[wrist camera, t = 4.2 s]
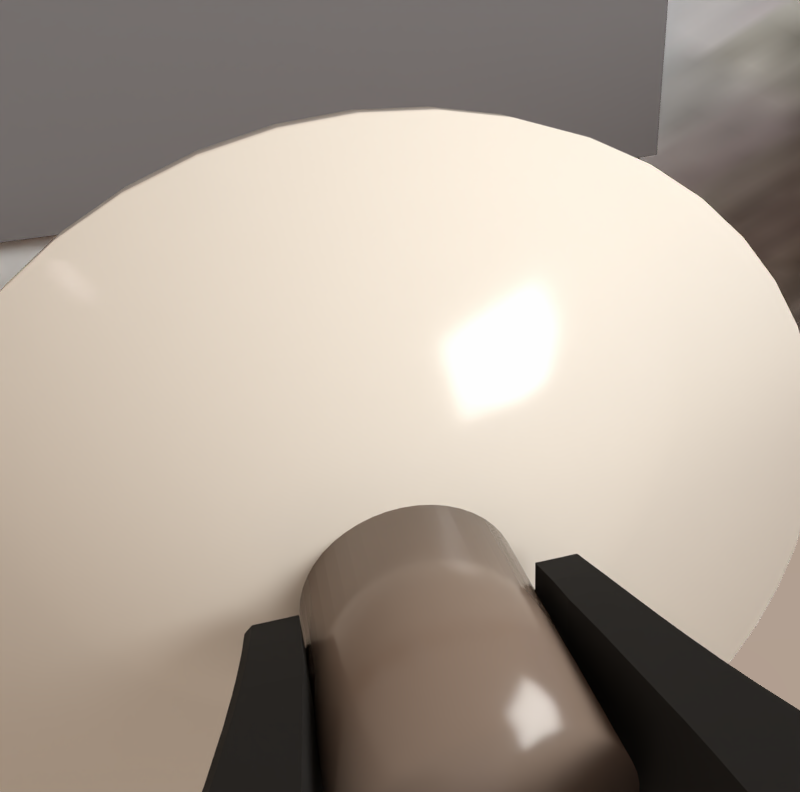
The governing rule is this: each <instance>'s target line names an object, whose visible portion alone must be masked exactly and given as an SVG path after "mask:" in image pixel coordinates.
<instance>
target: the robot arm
mask: <svg viewBox="0 0 800 792" xmlns="http://www.w3.org/2000/svg"><path fill="white" fill-rule="evenodd" d="M535 591H536V593H537V594H538V596H539V598H540V600H541V601H542V603H543V605H544V607H545V608H546V610H547V612H548V614H549V616H550V617H551V619H552V621H553V623H554V624H555V626H556V628H557V630H558V631H559V633H560V635H561V637H562V638H563V640H564V642H565V644H566V645H567V647H568V649H569V651H570V652H571V654H572V656H573V658H574V660H575V661H576V663H577V665H578V667H579V668H580V670H581V672H582V674H583V675H584V677H585V679H586V681H587V682H588V684H589V686H590V688H591V689H592V691H593V693H594V695H595V696H596V698H597V700H598V702H599V703H600V705H601V707H602V709H603V711H604V712H605V714H606V716H607V718H608V719H609V721H610V723H611V725H612V726H613V728H614V730H615V732H616V733H617V735H618V737H619V739H620V740H621V742H622V744H623V746H624V747H625V749H626V751H627V753H628V754H629V756H630V758H631V760H632V762H633V764H634V766H635V768H636V771H637V773H638V779H639V784H640V785H639V792H800V710H798V709H797V708H795V707H794V706H792V705H790V704H789V703H787V702H786V701H784V700H783V699H781V698H779V697H778V696H776V695H774V694H773V693H771V692H770V691H768V690H767V689H765V688H764V687H762V686H761V685H759V684H757V683H756V682H754V681H753V680H751V679H750V678H748V677H747V676H745V675H744V674H742V673H741V672H739V671H738V670H736V669H735V668H733V667H732V666H730V665H729V664H728V663H726V662H725V661H723V660H722V659H720V658H719V657H718V656H716V655H715V654H713V653H712V652H710V651H709V650H708V649H706V648H705V647H703V646H702V645H700V644H699V643H698V642H696V641H695V640H693V639H692V638H690V637H689V636H688V635H686V634H685V633H683V632H682V631H681V630H679V629H678V628H676V627H675V626H674V625H672V624H671V623H670V622H668V621H667V620H665V619H664V618H663V617H661V616H660V615H659V614H657V613H656V612H655V611H653V610H652V609H651V608H649V607H648V606H646V605H645V604H644V603H642V602H641V601H640V600H638V599H637V598H636V597H634V596H633V595H632V594H630V593H629V592H628V591H626V590H625V589H624V588H622V587H621V586H620V585H618V584H617V583H616V582H615V581H613V580H612V579H611V578H609V577H608V576H607V575H605V574H604V573H603V572H601V571H600V570H599V569H597V568H596V567H594V566H593V565H592V564H590V563H589V562H588V561H586V560H585V559H584V558H582V557H581V556H580V555H578V554H573V555H568V556H564V557H559V558H555V559H550V560H546V561H541V562H536V563H535ZM202 792H323V785H322V777H321V770H320V762H319V755H318V747H317V739H316V729H315V716H314V707H313V700H312V693H311V685H310V678H309V671H308V663H307V656H306V648H305V643H304V638H303V633H302V628H301V623H300V617H299V615H296V616H292V617H287V618H283V619H278V620H274V621H269V622H265V623H260V624H256V625H252V626H251V627H250V628H249V629H248V630H247V631H246V633H245V634H244V640H243V647H242V653H241V658H240V663H239V668H238V672H237V677H236V681H235V685H234V689H233V693H232V697H231V700H230V704H229V707H228V711H227V715H226V718H225V722H224V725H223V729H222V732H221V735H220V738H219V741H218V744H217V747H216V750H215V753H214V757H213V760H212V763H211V766H210V769H209V772H208V775H207V778H206V781H205V785H204V787H203V790H202Z"/></svg>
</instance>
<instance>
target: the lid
mask: <svg viewBox="0 0 800 792" xmlns="http://www.w3.org/2000/svg"><path fill="white" fill-rule="evenodd" d="M799 534H800V333H799V330H798V326H797V324H796V322H795V320H794V318H793V316H792V314H791V312H790V310H789V308H788V306H787V304H786V302H785V299H784V297H783V295H782V293H781V291H780V289H779V287H778V285H777V283H776V281H775V280H774V278H773V277H772V276H771V274H770V273H769V271H768V270H767V269H766V267H765V266H764V265H763V263H762V262H761V261H760V259H759V258H758V257H757V255H756V254H755V252H754V251H753V250H752V248H751V247H750V246H749V244H748V243H747V242H746V240H745V239H744V238H743V237H742V236H741V235H740V234H739V233H738V232H737V231H736V230H735V229H734V228H733V227H732V226H731V225H730V224H729V223H728V222H727V221H725V220H724V219H723V218H722V217H721V216H720V215H719V214H718V213H717V212H716V211H715V210H714V209H713V208H712V207H711V206H710V205H709V204H708V203H706V202H705V201H704V200H703V199H702V198H701V197H699V196H698V195H696V194H695V193H693V192H692V191H690V190H689V189H687V188H686V187H684V186H683V185H681V184H680V183H678V182H677V181H675V180H674V179H672V178H671V177H669V176H667V175H666V174H664V173H663V172H661V171H660V170H658V169H657V168H655V167H654V166H652V165H651V164H649V163H646V162H644V161H642V160H640V159H637V158H635V157H633V156H630V155H628V154H626V153H624V152H621V151H619V150H617V149H615V148H612V147H610V146H608V145H606V144H603V143H601V142H599V141H597V140H594V139H592V138H590V137H586V136H582V135H578V134H574V133H571V132H567V131H563V130H559V129H555V128H552V127H548V126H544V125H540V124H536V123H533V122H529V121H525V120H521V119H517V118H514V117H510V116H506V115H502V114H495V113H485V112H476V111H466V110H457V109H447V108H438V107H406V108H382V109H358V110H348V111H343V112H337V113H332V114H327V115H321V116H316V117H311V118H305V119H300V120H294V121H289V122H284V123H278V124H274V125H271V126H268V127H265V128H262V129H259V130H256V131H253V132H250V133H247V134H244V135H241V136H238V137H235V138H232V139H229V140H226V141H223V142H220V143H217V144H214V145H211V146H208V147H205V148H202V149H200V150H197V151H195V152H193V153H191V154H189V155H187V156H185V157H183V158H181V159H179V160H177V161H175V162H173V163H171V164H169V165H167V166H165V167H163V168H161V169H159V170H157V171H155V172H153V173H151V174H149V175H147V176H145V177H143V178H141V179H139V180H138V181H136V182H134V183H132V184H130V185H128V186H126V187H124V188H123V189H121V190H120V191H119V192H117V193H116V194H114V195H113V196H111V197H110V198H109V199H107V200H106V201H104V202H103V203H101V204H100V205H99V206H97V207H96V208H94V209H93V210H91V211H90V212H89V213H87V214H86V215H84V216H83V217H81V218H80V219H79V220H77V221H76V222H74V223H73V224H72V225H70V226H69V227H67V228H66V229H64V230H63V231H62V232H60V233H59V234H58V235H57V236H56V237H55V238H54V239H53V240H52V241H51V242H50V243H49V244H48V245H47V246H46V247H45V248H44V249H43V250H42V251H40V252H39V253H38V254H37V255H36V256H35V257H34V258H33V259H32V260H31V261H30V262H29V263H28V264H27V265H26V266H25V267H24V268H23V269H22V270H21V271H20V272H18V273H17V274H16V275H15V276H14V277H13V278H12V279H11V280H10V281H9V282H8V283H7V284H6V285H5V286H4V287H3V288H2V289H1V291H0V792H202V790H203V787H204V785H205V781H206V778H207V775H208V772H209V769H210V766H211V763H212V760H213V757H214V753H215V750H216V747H217V744H218V741H219V738H220V735H221V732H222V729H223V725H224V722H225V718H226V715H227V711H228V707H229V704H230V700H231V697H232V693H233V689H234V685H235V681H236V677H237V672H238V668H239V663H240V658H241V653H242V647H243V640H244V634H245V633H246V631H247V630H248V629H249V628H250V627H251V626H252V625H256V624H260V623H265V622H269V621H274V620H278V619H283V618H287V617H292V616H296V615H299V617H300V623H301V628H302V633H303V638H304V643H305V648H306V656H307V663H308V671H309V678H310V685H311V693H312V700H313V707H314V716H315V729H316V739H317V747H318V755H319V762H320V770H321V777H322V785H323V792H639V785H640V784H639V779H638V773H637V771H636V768H635V766H634V764H633V762H632V760H631V758H630V756H629V754H628V753H627V751H626V749H625V747H624V746H623V744H622V742H621V740H620V739H619V737H618V735H617V733H616V732H615V730H614V728H613V726H612V725H611V723H610V721H609V719H608V718H607V716H606V714H605V712H604V711H603V709H602V707H601V705H600V703H599V702H598V700H597V698H596V696H595V695H594V693H593V691H592V689H591V688H590V686H589V684H588V682H587V681H586V679H585V677H584V675H583V674H582V672H581V670H580V668H579V667H578V665H577V663H576V661H575V660H574V658H573V656H572V654H571V652H570V651H569V649H568V647H567V645H566V644H565V642H564V640H563V638H562V637H561V635H560V633H559V631H558V630H557V628H556V626H555V624H554V623H553V621H552V619H551V617H550V616H549V614H548V612H547V610H546V608H545V607H544V605H543V603H542V601H541V600H540V598H539V596H538V594H537V593H536V591H535V563H536V562H541V561H546V560H550V559H555V558H559V557H564V556H568V555H573V554H578V555H580V556H581V557H582V558H584V559H585V560H586V561H588V562H589V563H590V564H592V565H593V566H594V567H596V568H597V569H599V570H600V571H601V572H603V573H604V574H605V575H607V576H608V577H609V578H611V579H612V580H613V581H615V582H616V583H617V584H618V585H620V586H621V587H622V588H624V589H625V590H626V591H628V592H629V593H630V594H632V595H633V596H634V597H636V598H637V599H638V600H640V601H641V602H642V603H644V604H645V605H646V606H648V607H649V608H651V609H652V610H653V611H655V612H656V613H657V614H659V615H660V616H661V617H663V618H664V619H665V620H667V621H668V622H670V623H671V624H672V625H674V626H675V627H676V628H678V629H679V630H681V631H682V632H683V633H685V634H686V635H688V636H689V637H690V638H692V639H693V640H695V641H696V642H698V643H699V644H700V645H702V646H703V647H705V648H706V649H708V650H709V651H710V652H712V653H713V654H715V655H716V656H718V657H719V658H720V659H722V660H723V661H725V662H726V663H728V664H729V663H730V662H731V661H732V659H733V658H734V656H735V655H736V654H737V652H738V651H739V649H740V648H741V647H742V645H743V644H744V642H745V641H746V639H747V638H748V637H749V635H750V634H751V632H752V631H753V630H754V628H755V627H756V625H757V623H758V621H759V620H760V618H761V616H762V615H763V613H764V611H765V609H766V608H767V606H768V604H769V602H770V601H771V599H772V597H773V595H774V594H775V592H776V590H777V588H778V586H779V584H780V582H781V579H782V577H783V575H784V572H785V570H786V568H787V566H788V563H789V561H790V559H791V556H792V554H793V552H794V550H795V547H796V544H797V540H798V537H799Z"/></svg>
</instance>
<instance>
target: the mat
mask: <svg viewBox="0 0 800 792" xmlns="http://www.w3.org/2000/svg"><path fill="white" fill-rule="evenodd" d="M667 6H668V0H0V242H7V241H15V240H22V239H30V238H37V237H45V236H52V235H58V234H59V233H60V232H62V231H63V230H64V229H66V228H67V227H69V226H70V225H72V224H73V223H74V222H76V221H77V220H79V219H80V218H81V217H83V216H84V215H86V214H87V213H89V212H90V211H91V210H93V209H94V208H96V207H97V206H99V205H100V204H101V203H103V202H104V201H106V200H107V199H109V198H110V197H111V196H113V195H114V194H116V193H117V192H119V191H120V190H121V189H123V188H124V187H126V186H128V185H130V184H132V183H134V182H136V181H138V180H139V179H141V178H143V177H145V176H147V175H149V174H151V173H153V172H155V171H157V170H159V169H161V168H163V167H165V166H167V165H169V164H171V163H173V162H175V161H177V160H179V159H181V158H183V157H185V156H187V155H189V154H191V153H193V152H195V151H197V150H200V149H202V148H205V147H208V146H211V145H214V144H217V143H220V142H223V141H226V140H229V139H232V138H235V137H238V136H241V135H244V134H247V133H250V132H253V131H256V130H259V129H262V128H265V127H268V126H271V125H274V124H278V123H284V122H289V121H294V120H300V119H305V118H311V117H316V116H321V115H327V114H332V113H337V112H343V111H348V110H358V109H382V108H406V107H438V108H447V109H457V110H466V111H476V112H485V113H495V114H502V115H506V116H510V117H514V118H517V119H521V120H525V121H529V122H533V123H536V124H540V125H544V126H548V127H552V128H555V129H559V130H563V131H567V132H571V133H574V134H578V135H582V136H586V137H590V138H592V139H594V140H597V141H599V142H601V143H603V144H606V145H608V146H610V147H612V148H615V149H617V150H619V151H621V152H624V153H626V154H628V155H630V156H633V157H635V158H636V157H644V156H651V155H656V154H657V141H658V127H659V114H660V100H661V87H662V73H663V60H664V47H665V33H666V20H667Z"/></svg>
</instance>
